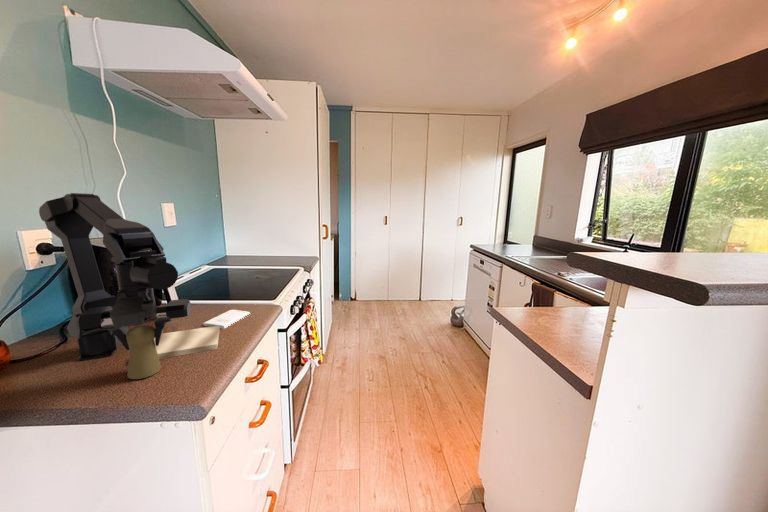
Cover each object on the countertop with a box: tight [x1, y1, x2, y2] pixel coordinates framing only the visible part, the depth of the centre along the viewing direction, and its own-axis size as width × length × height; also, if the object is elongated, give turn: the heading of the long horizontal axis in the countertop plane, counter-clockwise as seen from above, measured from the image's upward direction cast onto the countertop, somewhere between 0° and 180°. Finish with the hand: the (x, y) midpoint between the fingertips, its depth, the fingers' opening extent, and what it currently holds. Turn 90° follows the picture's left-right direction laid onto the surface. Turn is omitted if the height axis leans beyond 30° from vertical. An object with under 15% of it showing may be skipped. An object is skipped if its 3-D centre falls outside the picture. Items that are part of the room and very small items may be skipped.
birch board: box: [154, 326, 221, 360], centre depth 78 cm, size 18×13×2 cm
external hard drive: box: [202, 309, 251, 330], centre depth 96 cm, size 2×8×12 cm
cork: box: [126, 324, 162, 380], centre depth 64 cm, size 6×6×11 cm
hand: (143, 347), depth 64 cm, fingers closed on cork, 5 cm apart
